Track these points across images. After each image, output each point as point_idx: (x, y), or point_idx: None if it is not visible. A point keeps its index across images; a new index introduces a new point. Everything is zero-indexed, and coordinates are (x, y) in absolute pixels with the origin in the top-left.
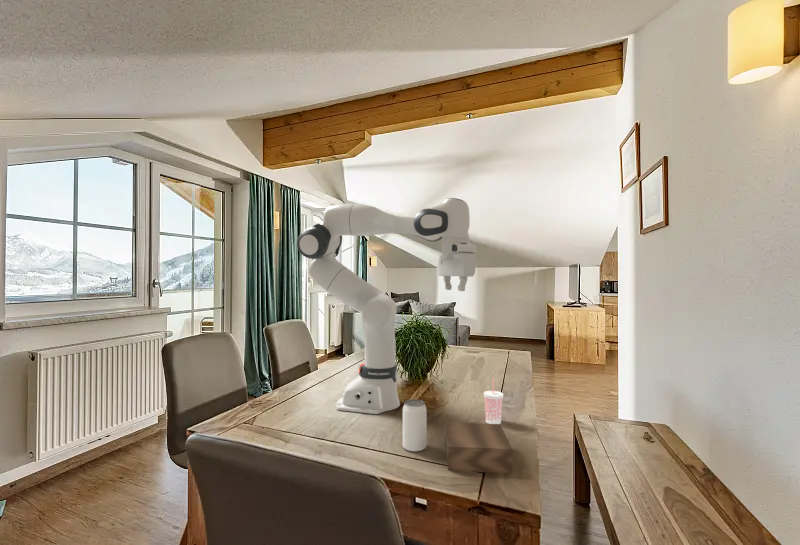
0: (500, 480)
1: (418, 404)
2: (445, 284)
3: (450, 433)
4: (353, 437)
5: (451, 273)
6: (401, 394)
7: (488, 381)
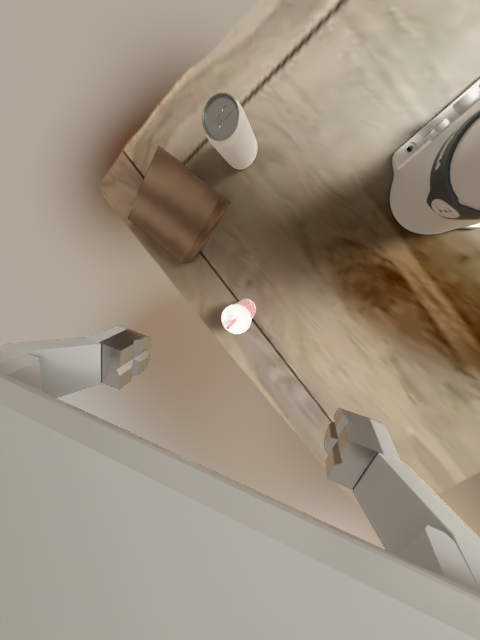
0: None
1: (214, 124)
2: (388, 455)
3: (187, 176)
4: (327, 58)
5: (94, 456)
6: (460, 270)
7: None
